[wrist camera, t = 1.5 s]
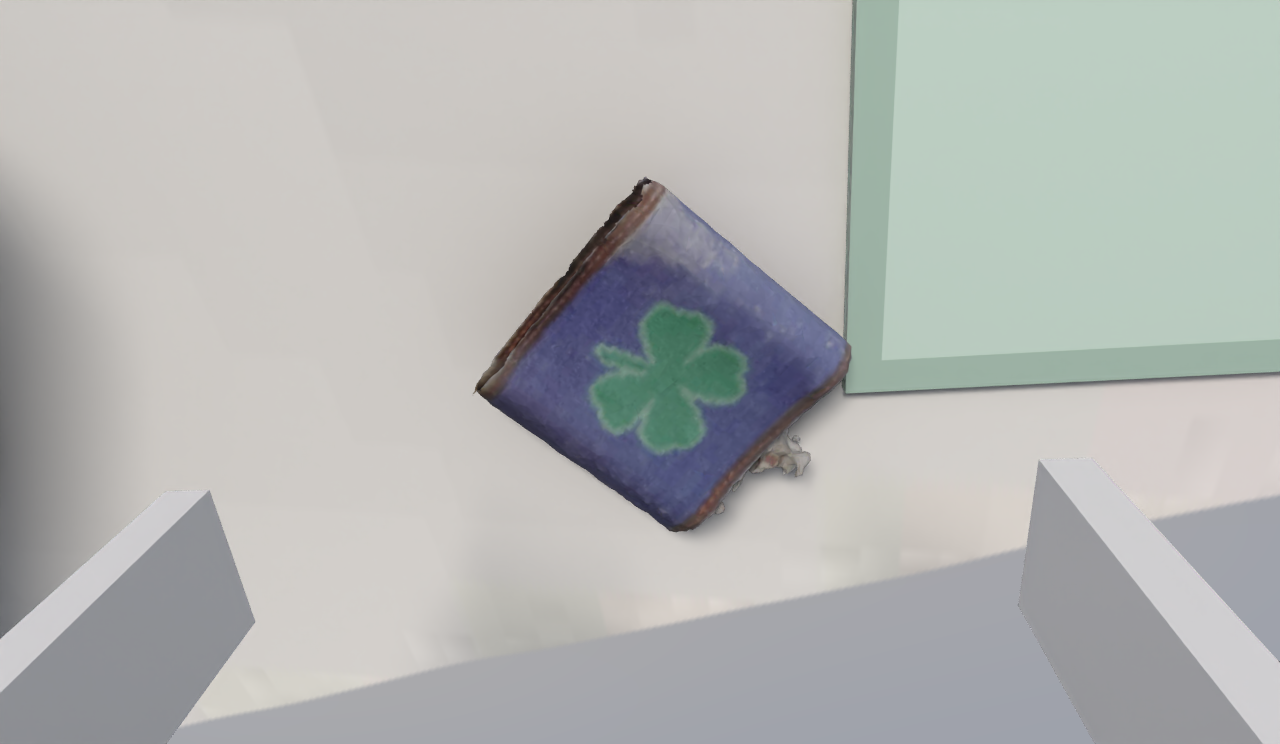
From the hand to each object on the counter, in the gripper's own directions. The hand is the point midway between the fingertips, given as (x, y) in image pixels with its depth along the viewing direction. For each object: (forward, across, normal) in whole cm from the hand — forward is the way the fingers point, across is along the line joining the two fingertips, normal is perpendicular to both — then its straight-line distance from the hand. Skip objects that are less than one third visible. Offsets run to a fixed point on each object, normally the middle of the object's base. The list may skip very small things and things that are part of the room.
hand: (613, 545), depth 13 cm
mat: (+16, +15, +4) cm, 22 cm away
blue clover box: (+16, -3, 0) cm, 17 cm away
